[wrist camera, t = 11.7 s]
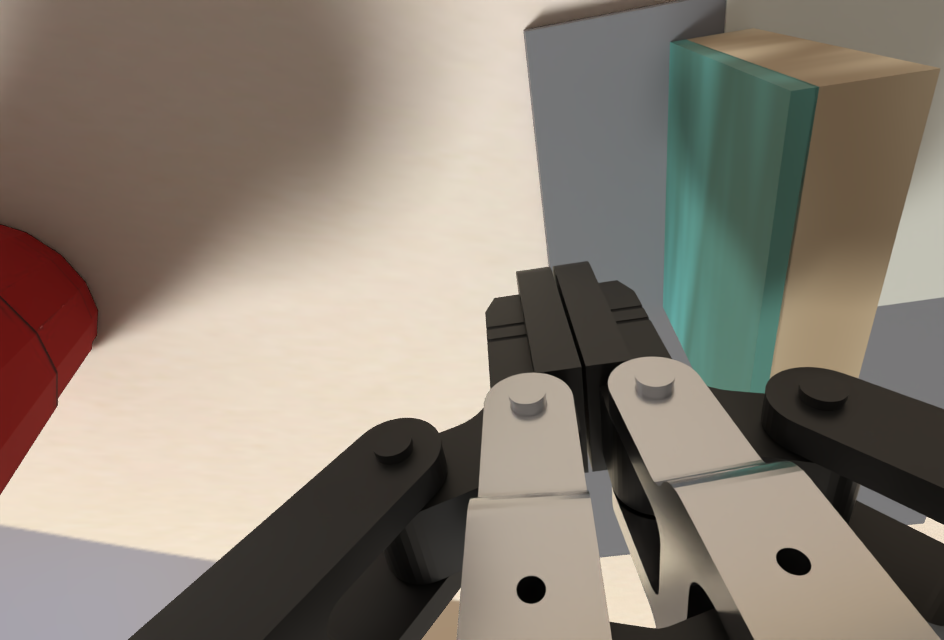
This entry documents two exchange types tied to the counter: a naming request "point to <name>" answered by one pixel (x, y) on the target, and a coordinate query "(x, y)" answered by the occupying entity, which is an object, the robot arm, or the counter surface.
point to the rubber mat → (645, 164)
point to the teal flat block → (783, 199)
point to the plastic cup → (37, 339)
